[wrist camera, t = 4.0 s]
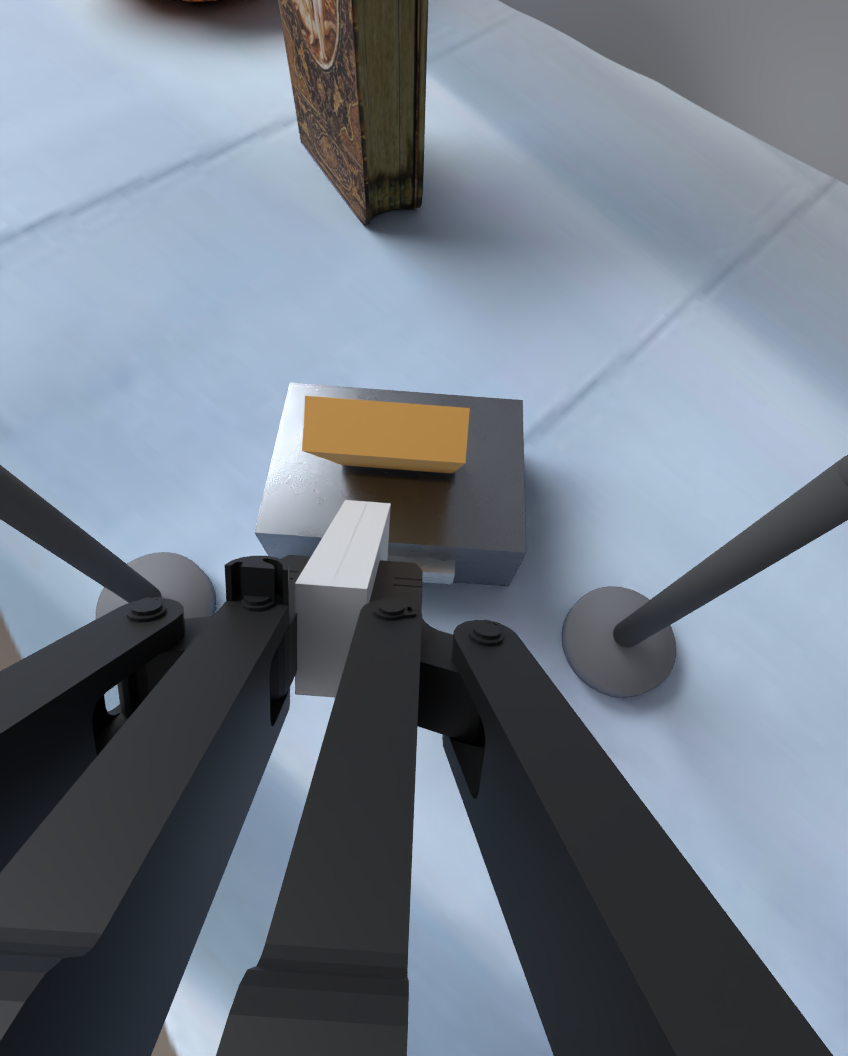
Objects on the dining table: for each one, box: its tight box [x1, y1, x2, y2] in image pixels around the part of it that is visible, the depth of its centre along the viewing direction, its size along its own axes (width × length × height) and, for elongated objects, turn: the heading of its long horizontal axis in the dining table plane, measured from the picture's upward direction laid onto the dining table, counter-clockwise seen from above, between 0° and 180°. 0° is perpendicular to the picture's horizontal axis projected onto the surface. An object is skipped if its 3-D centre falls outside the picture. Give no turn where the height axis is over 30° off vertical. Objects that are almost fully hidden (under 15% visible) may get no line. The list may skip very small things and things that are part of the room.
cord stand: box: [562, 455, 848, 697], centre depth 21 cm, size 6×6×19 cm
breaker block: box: [254, 383, 526, 586], centre depth 31 cm, size 11×14×5 cm
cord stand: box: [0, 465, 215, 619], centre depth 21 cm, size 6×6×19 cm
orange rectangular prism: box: [302, 396, 470, 474], centre depth 24 cm, size 2×6×10 cm, turn 87°
